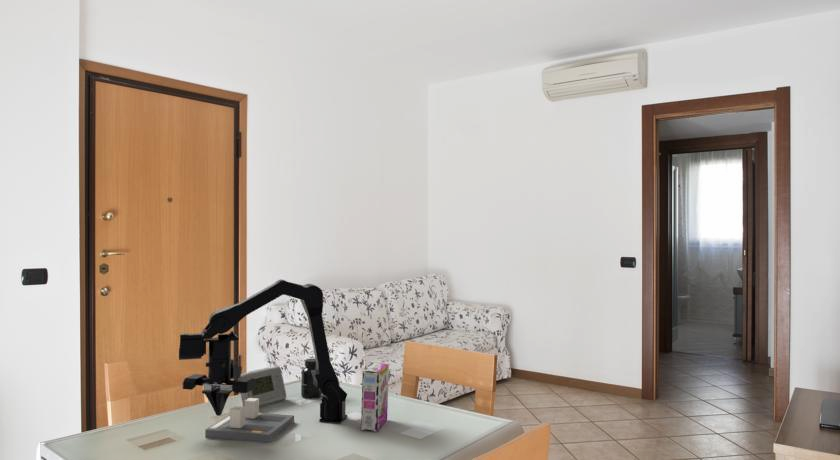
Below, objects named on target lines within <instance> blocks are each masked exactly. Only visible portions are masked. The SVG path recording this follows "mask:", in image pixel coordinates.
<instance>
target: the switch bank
mask: <svg viewBox="0 0 840 460" xmlns="http://www.w3.org/2000/svg"><path fill="white" fill-rule="evenodd" d="M294 423H295V415H294V414H279V413H268V412H259V416H257V417H256V418H254V419H252V418H245V425H244V426H243V427H241V428H231V427H230V414H228V415H227V416H225V417H224V418H222V419H220V420H218V421H217V422H215V423H214V424H212V425H210V426H209V427H208V428H206V429H205V431H204V432H205V433H204V436H205V438H212V439H220V440H221V439H223V440H236V441H246V442H259V443H269V444H270V442H272V441H273V440H274V439H276V438H277V437H278V436H279V435H280V434H282V433H283V432H284V431H285V430H287V429H288V428H289V427H291V425H293V424H294Z"/></svg>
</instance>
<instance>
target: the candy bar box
mask: <svg viewBox="0 0 840 460" xmlns="http://www.w3.org/2000/svg"><path fill="white" fill-rule="evenodd" d="M389 367H390V364H389V363H381V362H380V363H375V362H373V363H372V364H371V365H370V366H368V367H366V368H365V369H364V370H362V377H361V378H362V379H361V382H362V383H361V385H362V386H361V412H360V413H361V416H360V418H361V421H360V431H364V432H373V433H374V432H375V433H377V432H378V431H379V430H380V428H382V426H383V425H384V424H385V422H386V421H387V420H388V408H389V407H388V405H389V404H388V403H389V402H388V399H389V394H388V393H389V372H390V371H389V370H390V369H389Z"/></svg>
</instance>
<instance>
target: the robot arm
mask: <svg viewBox="0 0 840 460" xmlns="http://www.w3.org/2000/svg"><path fill="white" fill-rule="evenodd" d="M284 295H285V296H288V297H290V298H295V299H299V300H300V302H301V305H302V308H303V309H304V312H305V314H306V317H307V321H308V325H309V332H310V336H311V342H312V347H313V354H314V359H316V369H315V370H311V373H312V375H313V384H314V385H315V386H316V388H317V389H319V391H320V392H321V393H322V395H323V397H322V398H321V403H319V418H320V419H319V423H320V422H321V423H332V424H341V423H343V421H345V419H347V417H348V414H346V400H347V396H348V393H347V391H345V390H344V389H343V388H342V387H341V386H340V381H339V379H338V376H337V374H336V371H335V369H334V367H333V365H332V362H331V357H330V351H329V347H328V341H327V336H326V331H325V324H324V319H323V312H324V311H323V310H324V309H323V308H324V293H323V290H322V289H321V287H319V286H317V285H315V284H312V283H307V284H304V285H303V284H298V283H294V282H290V281H287V280H285V279H277V280H276V281H275V282H274V283H271V285H268V286H266V287H265V288H264V289H262V290H259V291H258V292H256V293H254V294H252V295H250V296H249V297H247V298H245V299H243V300H242V301H239V302H237V303H236V304H230V305H228V306H225V307H222V308H219V309H217V310H214V311H213V312H212V313H210V316H209V318H208V324H207V325H206V326H205V328H204V329H202V331H201V332H200V333H180V334H179V345H178V346H179V347H178V360H179V361H184V360H185V361H186V360H187V361H188V360H200V359H202V358H203V357H204V355H207V343H208V362H205V367H206V368H208V369H207V371H208V372H207V373H208V376H207V374H199V373H193V374H192V375H189V376H187V377H185V378H184V379H183V380H182V389H183V390H190V391H191V390H194V389H195V388H196V386H199V387H200V386H201V387H202V386H203V390H202V391H201V393H202V394H203V395H205V397H206V398H207V400H208V401H209V403H210V405H211V407H212V410H213V411H214V413H215V415H216V416H218V417H219V416H220V417H221V416H222V414H223V412H224V409H225V406H226V403H227V400H228V398H229V396H230V395H231V393H233V392H234V393H237V394H241V393H247V392H249V391H251V390H253V389H254V388H256V381H255V379H254V378H249V377H241V378H240V376H241V374H242V369H243V366H241V365H237V364H235V361H234V359H233V358H232V342H234V341H239V336H238V335H237V334H236V333H235V332H234V331H233V330H231V329H232V328H234V327H236V325H237V324H238V323H240V322H241V321H242V319H244V318H245V317H246V316H248V315H250V314H251V313H253V312H255V311H257V310H258V309H260V308H262V307H264V306H265V305H268V304H270V302H273V301H274V300H276V299H278V298H279V297H281V296H284ZM229 331H230V332H229ZM227 332H228V333H227ZM216 335H217V337H215V336H216ZM235 378H236V379H235ZM238 378H239V379H238ZM234 379H235V380H234Z"/></svg>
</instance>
